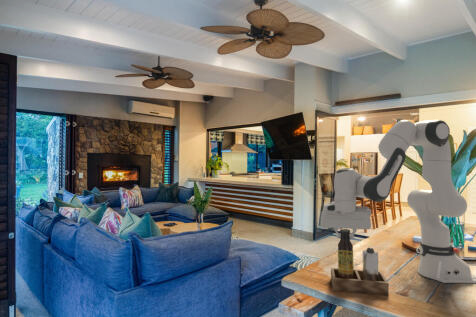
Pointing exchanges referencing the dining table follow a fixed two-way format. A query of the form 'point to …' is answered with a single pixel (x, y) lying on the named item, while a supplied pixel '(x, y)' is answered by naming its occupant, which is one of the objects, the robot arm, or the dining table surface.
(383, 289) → the condiment caddy
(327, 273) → the dining table surface
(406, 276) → the dining table surface
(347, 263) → the sauce bottle
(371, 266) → the pepper mill
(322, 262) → the dining table surface
